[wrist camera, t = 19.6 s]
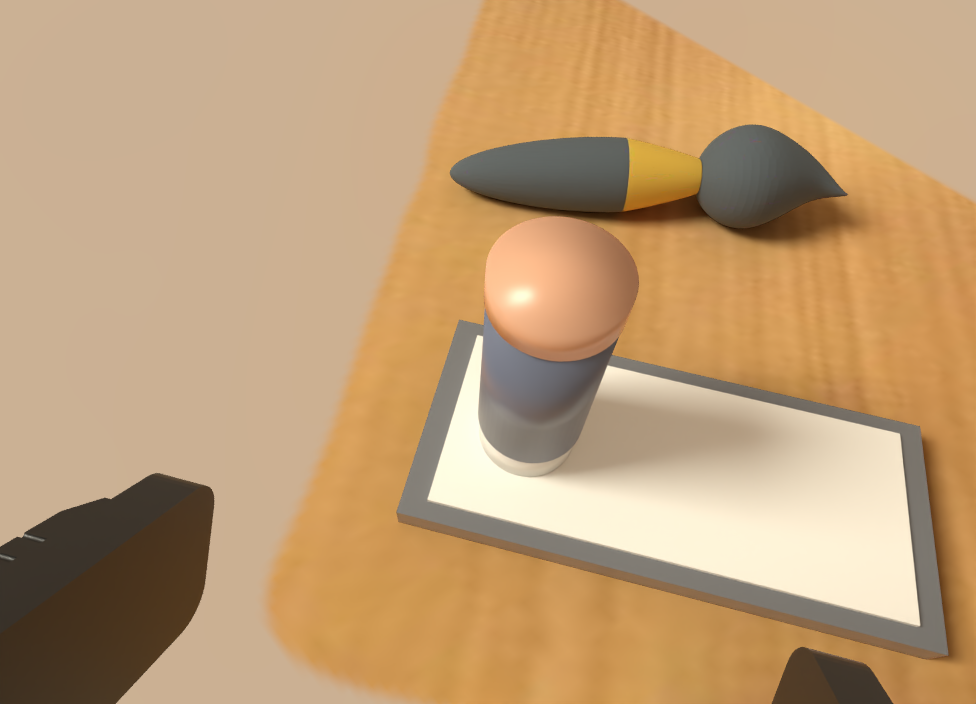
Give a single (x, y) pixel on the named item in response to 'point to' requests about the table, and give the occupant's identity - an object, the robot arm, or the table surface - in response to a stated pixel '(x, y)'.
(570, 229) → the peach capped blue cylinder
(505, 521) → the whiteboard
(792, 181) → the paintbrush
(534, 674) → the table surface
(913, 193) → the table surface
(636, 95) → the table surface
